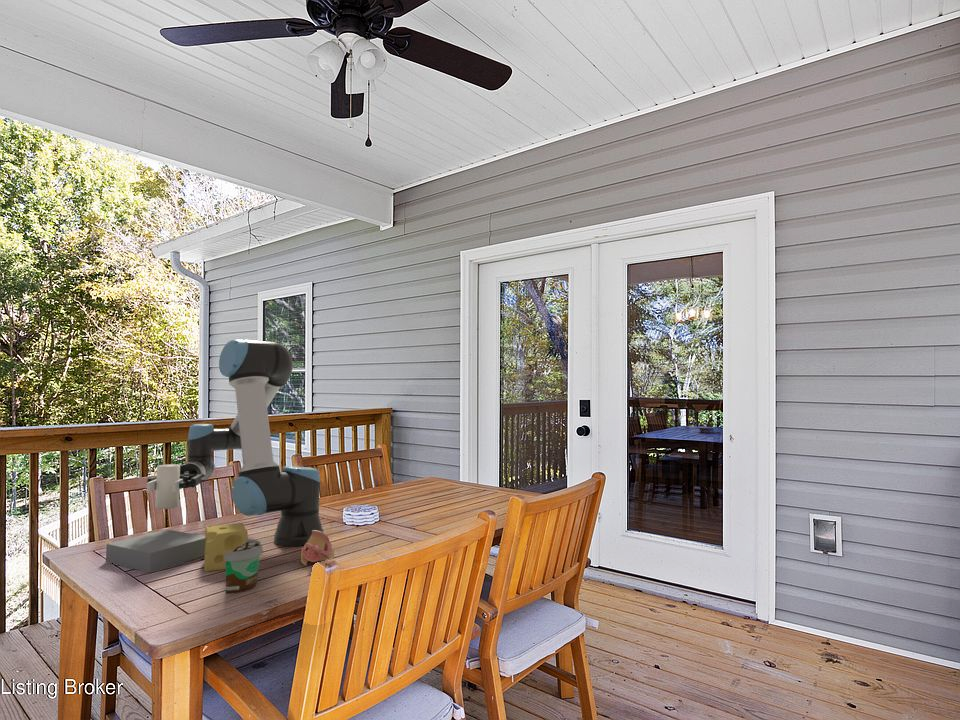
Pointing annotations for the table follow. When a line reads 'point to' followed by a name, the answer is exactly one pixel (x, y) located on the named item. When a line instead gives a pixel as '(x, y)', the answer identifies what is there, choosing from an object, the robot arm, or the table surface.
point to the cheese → (222, 544)
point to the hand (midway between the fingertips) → (160, 487)
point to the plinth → (156, 550)
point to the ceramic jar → (167, 486)
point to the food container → (242, 567)
